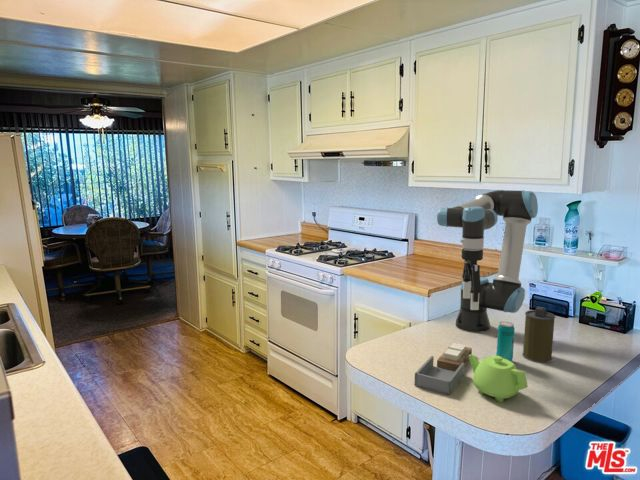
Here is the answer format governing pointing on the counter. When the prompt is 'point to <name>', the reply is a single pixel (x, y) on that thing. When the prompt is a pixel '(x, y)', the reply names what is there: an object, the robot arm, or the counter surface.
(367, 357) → the counter surface
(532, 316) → the canister
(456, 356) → the tile
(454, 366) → the walnut board
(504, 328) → the beverage can
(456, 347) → the tile
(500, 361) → the teapot
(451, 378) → the tray
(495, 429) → the counter surface
